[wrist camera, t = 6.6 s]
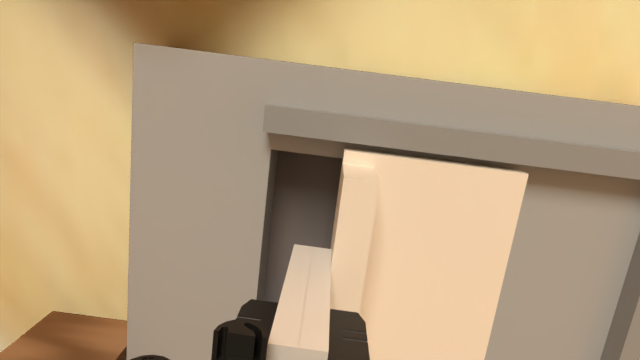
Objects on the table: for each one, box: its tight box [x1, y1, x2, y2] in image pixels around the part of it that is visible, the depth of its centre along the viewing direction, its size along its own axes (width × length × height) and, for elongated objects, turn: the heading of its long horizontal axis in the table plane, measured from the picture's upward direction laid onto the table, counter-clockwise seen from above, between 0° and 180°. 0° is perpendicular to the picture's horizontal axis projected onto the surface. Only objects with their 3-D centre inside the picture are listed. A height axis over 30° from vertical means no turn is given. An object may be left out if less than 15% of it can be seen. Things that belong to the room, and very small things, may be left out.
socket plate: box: [126, 43, 640, 360], centre depth 19 cm, size 22×16×4 cm
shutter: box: [330, 147, 529, 360], centre depth 16 cm, size 7×10×3 cm
